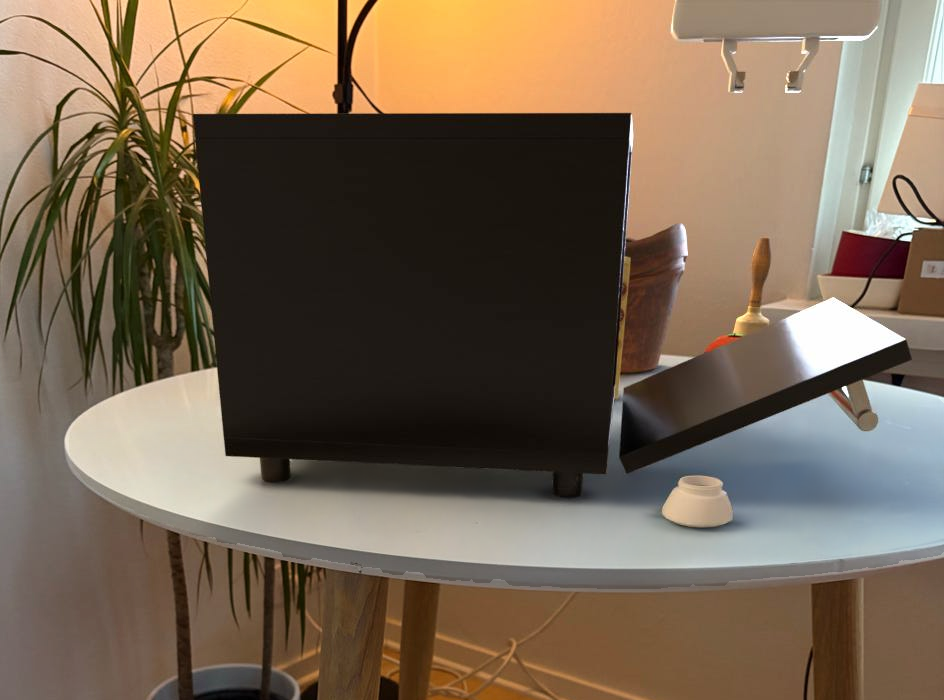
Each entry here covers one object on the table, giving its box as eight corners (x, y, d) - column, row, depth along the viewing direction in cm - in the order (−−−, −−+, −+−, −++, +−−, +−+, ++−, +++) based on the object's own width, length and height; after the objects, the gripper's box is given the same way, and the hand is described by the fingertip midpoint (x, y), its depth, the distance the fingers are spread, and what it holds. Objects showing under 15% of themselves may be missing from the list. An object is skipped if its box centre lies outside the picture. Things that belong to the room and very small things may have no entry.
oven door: (649, 453, 101) (856, 369, 95) (653, 542, 76) (934, 436, 70) (623, 387, 99) (833, 297, 93) (618, 456, 74) (906, 339, 68)
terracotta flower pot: (518, 357, 139) (522, 219, 131) (652, 354, 142) (664, 219, 135) (551, 380, 123) (558, 224, 116) (701, 376, 126) (718, 225, 119)
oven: (612, 421, 102) (633, 134, 91) (604, 507, 75) (631, 112, 64) (332, 410, 106) (318, 133, 95) (228, 486, 79) (192, 113, 68)
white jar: (694, 535, 69) (746, 524, 71) (698, 494, 68) (751, 484, 70) (647, 516, 73) (698, 506, 75) (651, 477, 72) (703, 468, 74)
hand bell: (741, 352, 145) (755, 235, 138) (790, 359, 139) (807, 237, 132) (705, 357, 140) (718, 236, 133) (754, 365, 134) (771, 239, 127)
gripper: (676, -74, 95) (663, 89, 101) (898, -81, 92) (872, 88, 98) (674, -60, 100) (661, 94, 106) (883, -66, 98) (859, 93, 103)
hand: (764, 91), depth 102 cm, fingers open, 4 cm apart
